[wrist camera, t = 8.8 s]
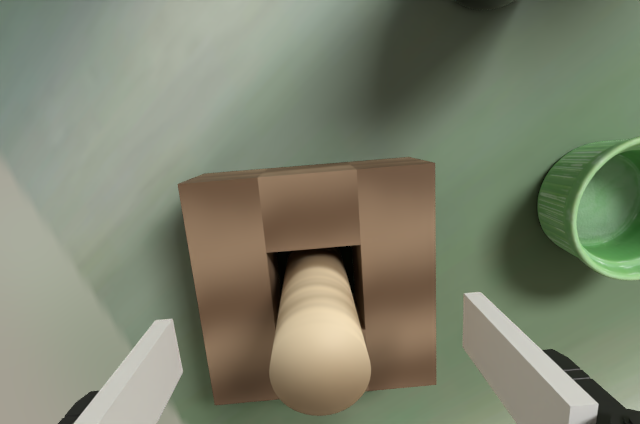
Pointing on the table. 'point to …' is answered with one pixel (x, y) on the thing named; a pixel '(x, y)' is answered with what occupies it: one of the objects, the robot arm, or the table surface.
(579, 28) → the table surface
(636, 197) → the ramekin
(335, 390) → the peg
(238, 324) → the socket block
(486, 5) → the supplement bottle
